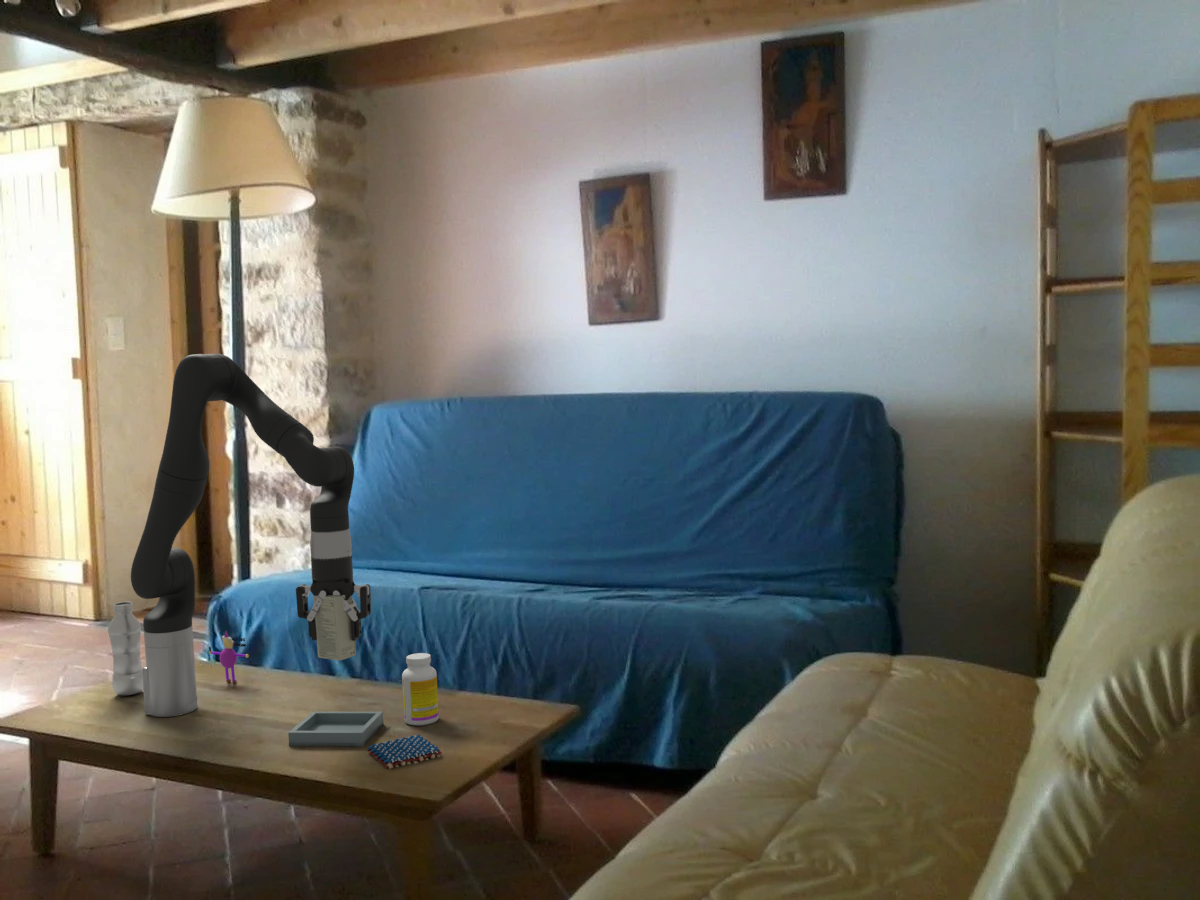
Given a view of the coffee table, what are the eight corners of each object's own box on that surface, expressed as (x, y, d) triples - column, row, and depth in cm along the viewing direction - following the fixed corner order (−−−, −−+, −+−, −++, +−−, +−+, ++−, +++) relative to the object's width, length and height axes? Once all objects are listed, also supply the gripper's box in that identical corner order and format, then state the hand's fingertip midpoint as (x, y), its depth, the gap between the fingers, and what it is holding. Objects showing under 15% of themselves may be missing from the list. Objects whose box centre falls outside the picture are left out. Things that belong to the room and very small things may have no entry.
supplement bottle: (446, 720, 209) (443, 655, 208) (418, 729, 204) (415, 662, 203) (424, 713, 213) (421, 649, 212) (397, 722, 209) (394, 657, 208)
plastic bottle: (138, 698, 230) (132, 606, 229) (107, 699, 230) (100, 607, 229) (151, 689, 237) (145, 599, 235) (120, 690, 237) (114, 600, 235)
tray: (289, 745, 197) (288, 732, 197) (313, 724, 209) (313, 711, 209) (362, 746, 196) (362, 732, 195) (383, 724, 208) (382, 711, 207)
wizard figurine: (254, 683, 239) (251, 630, 238) (244, 687, 236) (241, 633, 235) (215, 679, 243) (212, 626, 242) (205, 683, 240) (201, 630, 239)
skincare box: (356, 655, 204) (353, 592, 203) (339, 661, 200) (336, 597, 199) (332, 652, 207) (329, 589, 206) (315, 657, 203) (312, 594, 202)
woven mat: (444, 759, 189) (444, 748, 189) (387, 773, 183) (386, 761, 183) (421, 742, 198) (420, 732, 198) (365, 755, 192) (365, 744, 192)
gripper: (286, 557, 199) (291, 644, 200) (361, 556, 197) (365, 645, 199) (302, 550, 207) (307, 634, 208) (374, 549, 205) (378, 634, 206)
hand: (335, 639), depth 203 cm, fingers closed on skincare box, 7 cm apart
